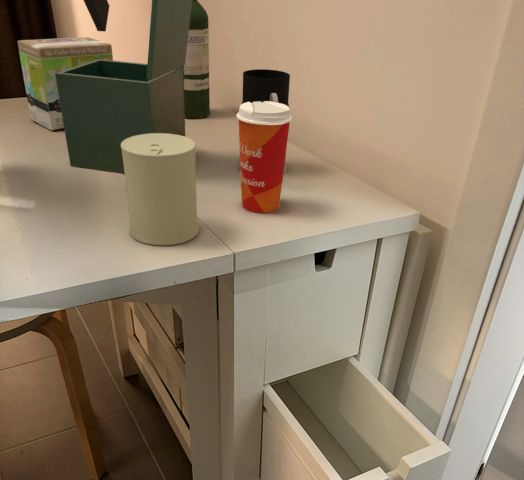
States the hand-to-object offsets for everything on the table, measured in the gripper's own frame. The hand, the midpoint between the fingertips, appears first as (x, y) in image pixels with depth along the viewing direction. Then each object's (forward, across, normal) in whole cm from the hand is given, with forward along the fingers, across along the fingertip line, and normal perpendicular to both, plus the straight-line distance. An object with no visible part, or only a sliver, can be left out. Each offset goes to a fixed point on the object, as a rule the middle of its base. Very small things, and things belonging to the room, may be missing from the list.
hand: (32, 15), depth 52 cm
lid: (+27, +4, +24) cm, 36 cm away
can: (+26, +8, -11) cm, 29 cm away
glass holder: (+43, +20, +8) cm, 48 cm away
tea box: (+59, -22, +25) cm, 68 cm away
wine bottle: (+67, 0, +33) cm, 75 cm away
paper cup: (+33, +20, -3) cm, 39 cm away
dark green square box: (+44, -4, +9) cm, 46 cm away
